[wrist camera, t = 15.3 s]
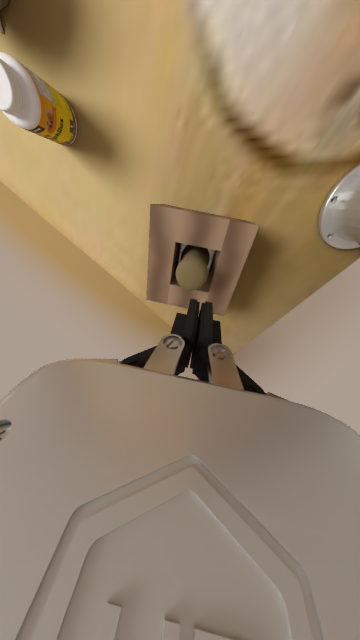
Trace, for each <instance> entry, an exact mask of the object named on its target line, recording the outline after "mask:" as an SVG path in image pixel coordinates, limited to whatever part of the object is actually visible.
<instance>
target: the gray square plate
mask: <svg viewBox="0 0 360 640" xmlns="http://www.w3.org/2000/svg"><path fill="white" fill-rule="evenodd" d="M187 245H188V244H183V243H181V248H180V255H179V261H178V265H179V263H180V262H181V253H182V251H183V249H184V248H185V247H186V246H187ZM207 249H208V248H207ZM208 251H209V254H210V261H209V264H208V267H207V268H208V274H209V270H210V266H211V263H212V259H213V255H214V252H215V250H213V249H208Z"/></svg>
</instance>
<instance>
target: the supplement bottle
mask: <svg viewBox="0 0 360 640" xmlns="http://www.w3.org/2000/svg"><path fill="white" fill-rule="evenodd" d="M0 110H2V111H3V113H4V114H5V115H6V116H7V117H8V118H9V119H10V120H11V121H12V122H13V123H14V124H16V125H17V126H19V127H21V128H23V129H25V130H28V131H30V132H33V133H35V134H37V135H40V136H42V137H44V138H47V139H49V140H52V141H54V142H56V143H59V144H62V145H70V144H71V143H73V142H74V140H75V138H76V135H77V122H76V118H75V114H74V112H73V110H72V108H71V106H70V104H69V103H68V101H67V100H66V99H65V98H64V96H62V95H61V94H60V93H59V92H58V91H56V90H55V89H54V88H52V87H51V86H50V85H49V84H47V83H46V82H45V81H43V80H42V79H41V78H39V77H38V76H37V75H36V74H34V73H33V72H32V71H30V70H29V69H28V68H26V67H25V66H24V65H23V64H21V63H20V62H19V61H17V60H16V59H15V58H13V57H12V56H10V55H8V54H6V53H2V52H0Z"/></svg>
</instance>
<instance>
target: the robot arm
mask: <svg viewBox="0 0 360 640" xmlns="http://www.w3.org/2000/svg"><path fill="white" fill-rule="evenodd" d="M331 199H332V201H331ZM318 229H319V234H320V236H321V238H322V239H323V241H324V242H325V243H327V244H328V245H330V246H332V247H335V248H339V249H353V248H358V247H360V164H359V165H357V166H355V167H354V168H353V169H352V170H350V171H349V172H348V173H347V174H346V175H345V176H344V177H343V178H342V179H341V180H340V181H339V182H338V183H337V184H336V185H335V186H334V188H333V189H332V190H331V191H330V193H329V195H328V196H327V198H326V200H325V201H324V204H323V206H322V208H321V211H320V215H319V219H318ZM327 236H328V237H327ZM199 306H200V302H197V299H191V298H190V303H189V307H188V312H187V315H185V314H180V313H177V315H176V318H175V321H174V324H173V327H172V331H171V334H168V335H165V336H163V337H162V338H161V340H160V342H159V343H158V345H157V346H155V347H153V348H150V349H148V350H145V351H143V352H140V353H138V354H135V355H133V356H130V357H128V358H126V359H124V360H122V361H118V359H67V360H60V361H56V362H52V363H49V364H47V365H45V366H43V367H41V368H39V369H38V370H36V371H34V372H33V373H32V374H30V375H29V376H28V377H27V378H25V379H24V380H23V381H22V382H20V383H19V384H18V385H17V386H16V387H15V388H13V389H12V390H11V391H10V392H9V393H8V394H7V395H6V396H4V397H3V398H2V399H1V400H0V640H360V435H359V434H357V432H355V431H354V430H353V429H352V428H350V427H349V426H347V425H346V424H344V423H343V422H341V421H339V420H337V419H335V418H334V417H332V416H330V415H328V414H326V413H323V412H321V411H319V410H316V409H314V408H311V407H308V406H305V405H302V404H298V403H294V402H291V401H288V400H286V399H284V398H281V397H279V396H276V395H274V394H272V393H269V392H268V393H265V392H264V391H263V389H262V388H261V387H260V386H258V385H257V384H256V383H255V382H254V381H253V380H252V379H251V378H250V377H249V376H248V375H246V374H245V373H244V372H243V371H242V370H241V369H240V368H239V367H238V366H237V365H236V364H235V361H234V358H233V355H232V352H231V350H230V349H229V348H228V347H226V346H225V345H223V344H222V342H221V328H220V321H215V320H213V303H212V302H207V301H205V303H202V305H201V309H200V313H199ZM198 315H199V317H198ZM191 353H192V356H191ZM190 357H191V364H190V368H192V369H193V372H192V373H193V374H195V375H196V376H197V377H198V379H197V380H195V379H191V378H186V377H181V376H178V374H180V373H182V372H184V370H185V367H187V368H188V365H189V360H190Z"/></svg>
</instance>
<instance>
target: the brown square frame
mask: <svg viewBox="0 0 360 640" xmlns="http://www.w3.org/2000/svg"><path fill="white" fill-rule="evenodd" d="M258 228H259V226H258V225H256V224H254V223H251V222H249V221H244V220H239V219H234V218H229V217H224V216H219V215H214V214H209V213H204V212H199V211H194V210H189V209H184V208H179V207H175V206H170V205H165V204H151V206H150V230H149V254H148V278H147V300H151V301H155V302H160V303H165V304H170V305H174V306H179V307H184V308H188V307H189V303H190V298H191V299H197V302H200V306H199V311H200V309H201V305H202V303H205V301H207V302H212V303H213V314H217V315H222V316H224V314H225V312H226V309H227V307H228V304H229V302H230V299H231V297H232V294H233V292H234V289H235V287H236V284H237V282H238V279H239V277H240V274H241V271H242V269H243V266H244V264H245V261H246V259H247V256H248V254H249V251H250V249H251V246H252V244H253V241H254V239H255V236H256V233H257V231H258ZM180 243H183V244H188V245H193V246H198V247H203V248H208V249H213V250H216V251H215V255H214V258H213V262H212V265H211V269H210V273H209V276H208V278H207V281H206V282H205V284H204V285H203V286H202V287H201V288H199V289H197V290H186V289H184V288H182V287H181V286H180V285H179V284H178V282H177V279H176V268H177V263H178V256H179V249H180Z"/></svg>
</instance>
